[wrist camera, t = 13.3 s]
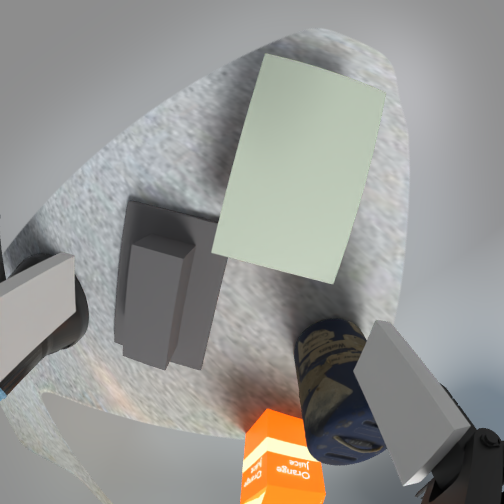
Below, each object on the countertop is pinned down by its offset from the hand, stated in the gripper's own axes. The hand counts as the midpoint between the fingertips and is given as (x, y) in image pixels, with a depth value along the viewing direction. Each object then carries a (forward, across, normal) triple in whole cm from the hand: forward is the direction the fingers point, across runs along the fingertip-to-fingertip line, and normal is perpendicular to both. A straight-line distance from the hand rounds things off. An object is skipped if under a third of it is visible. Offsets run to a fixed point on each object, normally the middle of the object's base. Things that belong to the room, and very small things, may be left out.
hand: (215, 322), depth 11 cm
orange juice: (+22, +13, -31) cm, 40 cm away
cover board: (+16, +4, +8) cm, 18 cm away
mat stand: (+22, -8, -10) cm, 26 cm away
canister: (+22, +14, -13) cm, 29 cm away
